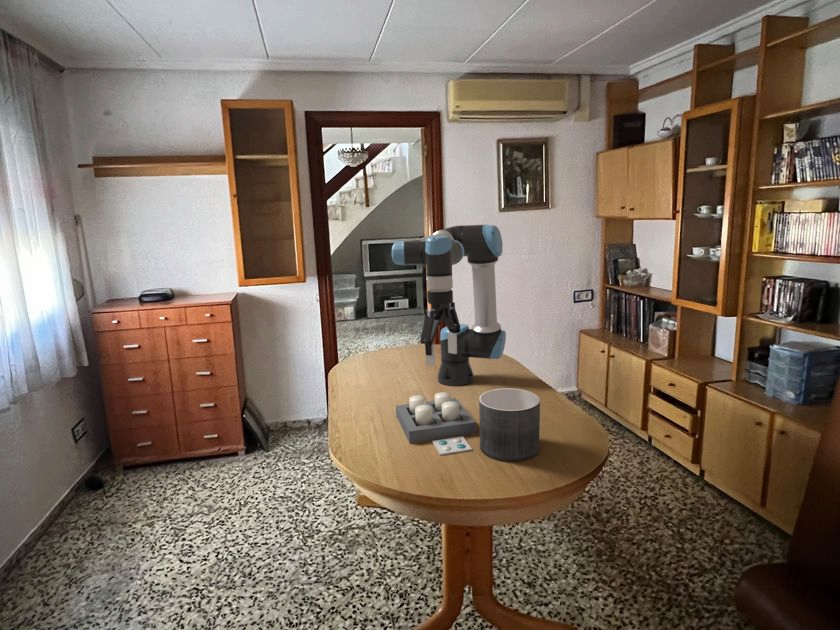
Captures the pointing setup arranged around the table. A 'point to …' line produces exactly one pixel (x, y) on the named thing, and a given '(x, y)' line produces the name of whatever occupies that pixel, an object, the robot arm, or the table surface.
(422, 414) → the button
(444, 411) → the button
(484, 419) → the planter
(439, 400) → the button
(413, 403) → the button
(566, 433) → the table surface
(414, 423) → the board
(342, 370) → the table surface
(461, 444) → the card
